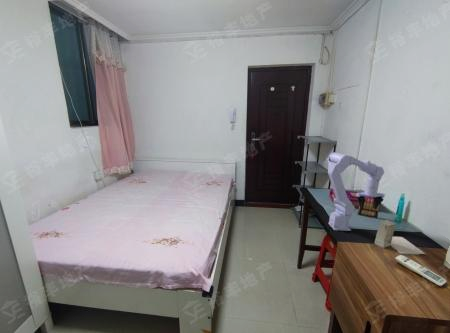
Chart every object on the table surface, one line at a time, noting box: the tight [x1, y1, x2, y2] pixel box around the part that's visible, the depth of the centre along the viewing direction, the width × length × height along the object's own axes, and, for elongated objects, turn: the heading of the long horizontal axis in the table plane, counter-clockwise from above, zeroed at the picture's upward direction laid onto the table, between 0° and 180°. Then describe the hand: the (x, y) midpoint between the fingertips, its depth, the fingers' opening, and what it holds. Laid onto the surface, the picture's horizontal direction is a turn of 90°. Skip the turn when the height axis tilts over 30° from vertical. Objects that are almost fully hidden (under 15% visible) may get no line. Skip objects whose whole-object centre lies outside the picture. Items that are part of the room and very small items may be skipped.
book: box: [329, 188, 382, 212], centre depth 158 cm, size 21×28×8 cm
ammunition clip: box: [357, 198, 380, 219], centre depth 137 cm, size 11×2×12 cm, turn 66°
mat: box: [389, 236, 426, 255], centre depth 108 cm, size 12×14×1 cm
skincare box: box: [374, 219, 397, 249], centre depth 107 cm, size 6×4×12 cm
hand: (367, 208), depth 125 cm, fingers open, 7 cm apart
